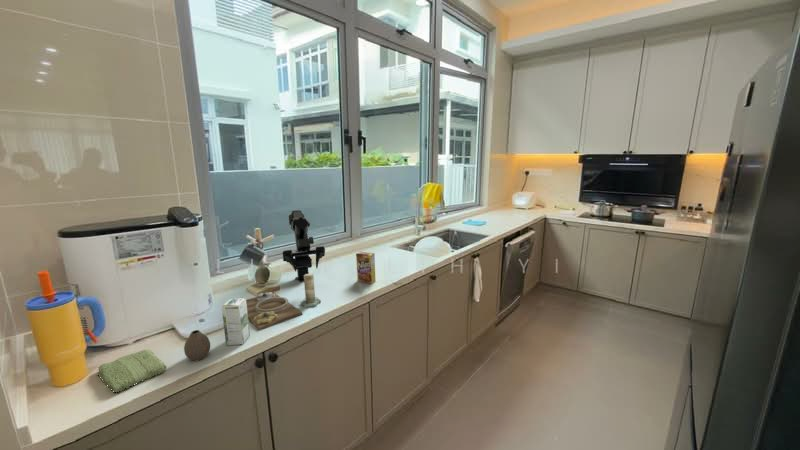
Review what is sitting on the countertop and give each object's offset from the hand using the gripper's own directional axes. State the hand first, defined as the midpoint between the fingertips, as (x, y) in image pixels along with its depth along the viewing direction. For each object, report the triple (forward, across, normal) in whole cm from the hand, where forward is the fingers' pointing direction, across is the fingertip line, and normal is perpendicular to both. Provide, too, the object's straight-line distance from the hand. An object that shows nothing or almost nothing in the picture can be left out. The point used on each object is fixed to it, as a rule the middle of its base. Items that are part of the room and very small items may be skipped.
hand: (306, 269), depth 139 cm
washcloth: (+33, -54, -13) cm, 65 cm away
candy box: (+4, +30, +15) cm, 33 cm away
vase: (+33, -37, -14) cm, 51 cm away
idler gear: (+15, 0, +4) cm, 15 cm away
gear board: (+14, -18, +5) cm, 23 cm away
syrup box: (+29, -27, -10) cm, 40 cm away
